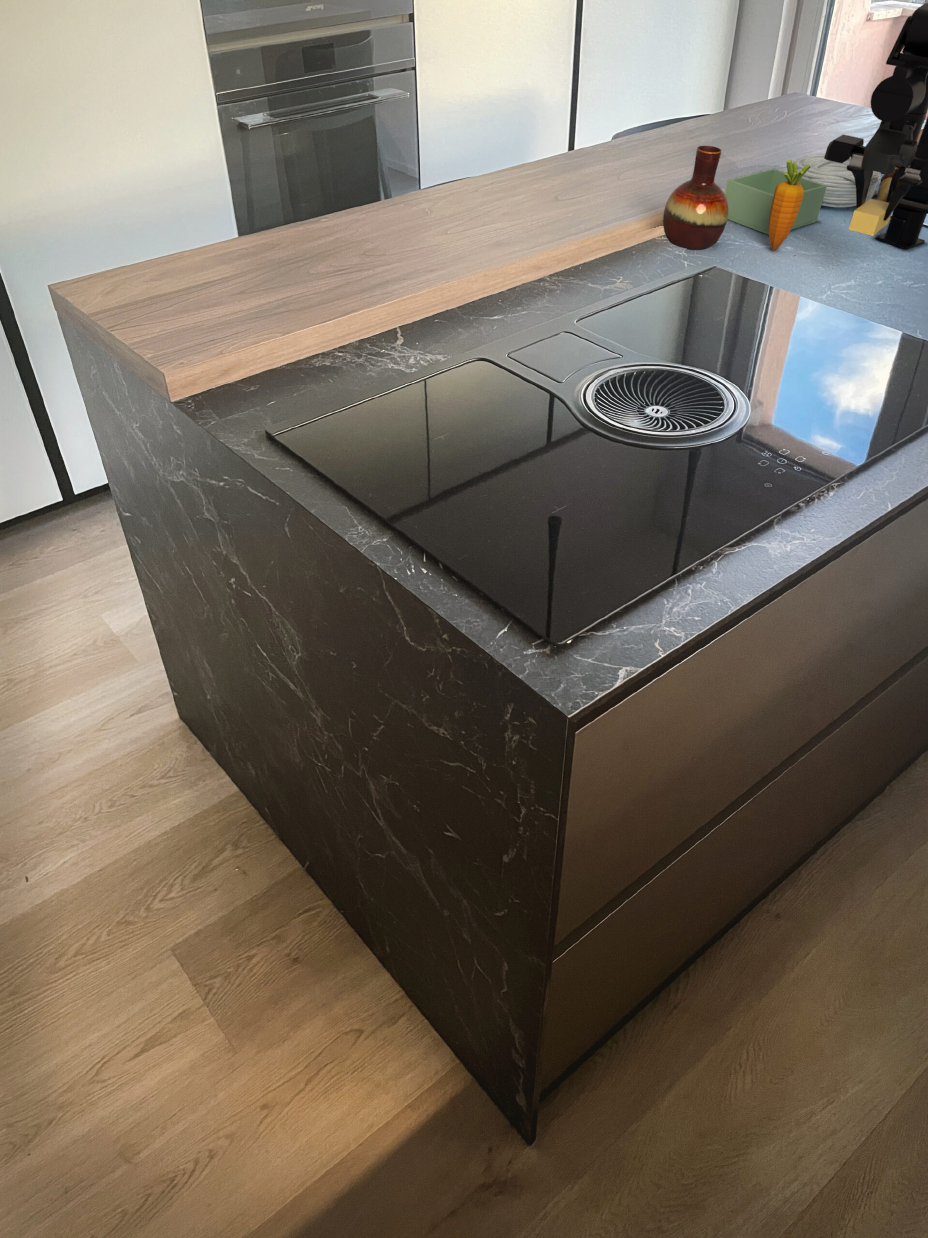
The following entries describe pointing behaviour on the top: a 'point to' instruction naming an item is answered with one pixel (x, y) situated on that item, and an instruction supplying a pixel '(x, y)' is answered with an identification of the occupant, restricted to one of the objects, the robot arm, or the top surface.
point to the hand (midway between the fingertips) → (871, 216)
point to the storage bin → (768, 199)
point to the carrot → (785, 205)
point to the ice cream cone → (884, 186)
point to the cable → (834, 180)
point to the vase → (697, 205)
